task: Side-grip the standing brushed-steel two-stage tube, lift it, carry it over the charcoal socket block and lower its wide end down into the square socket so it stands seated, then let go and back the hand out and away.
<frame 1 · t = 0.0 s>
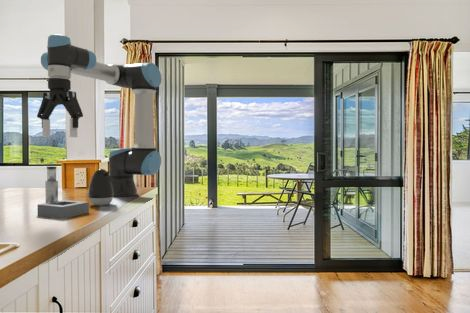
hand: (59, 137, 137), 28 cm above the counter, tool pointing down, fingers open, 13 cm apart
dark grey egg shape: (101, 205, 158), on the counter
tube: (51, 208, 147), on the counter
socket block: (63, 214, 136), on the counter
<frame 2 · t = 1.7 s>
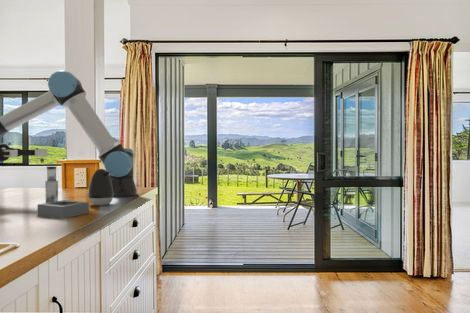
hand: (32, 153, 150), 22 cm above the counter, tool horizontal, fingers open, 13 cm apart
nothing on the counter moved.
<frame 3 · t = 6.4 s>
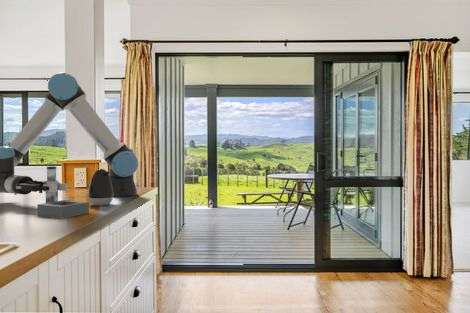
hand: (61, 188, 145), 9 cm above the counter, tool horizontal, fingers closed on tube, 4 cm apart
tube: (51, 208, 147), on the counter, touching gripper
everything else where it was.
when the fingers open (10 cm above the counter, at t = 12.1 s): tube drops 1 cm, resting in socket block.
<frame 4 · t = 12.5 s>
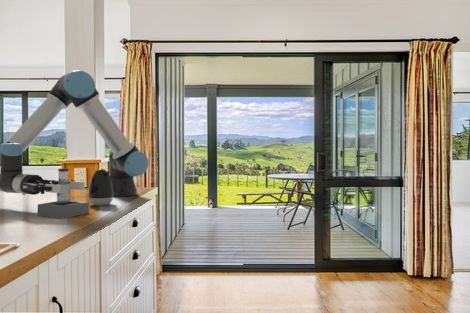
hand: (72, 187, 134), 10 cm above the counter, tool horizontal, fingers open, 10 cm apart
tube: (63, 214, 136), resting in socket block
everything else where it was.
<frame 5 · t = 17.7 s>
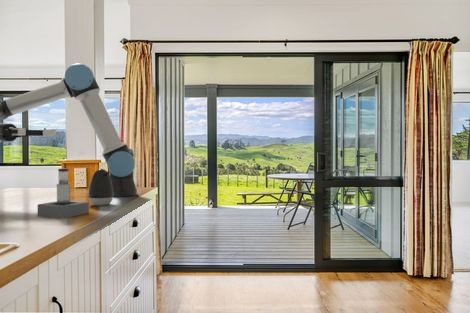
hand: (40, 132, 147), 30 cm above the counter, tool horizontal, fingers open, 13 cm apart
nothing on the counter moved.
at the end: tube 0.1 cm off-centre on the socket block, point 0.0 cm above the socket block's base; tube tilted 0°; the gripper is holding nothing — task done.
